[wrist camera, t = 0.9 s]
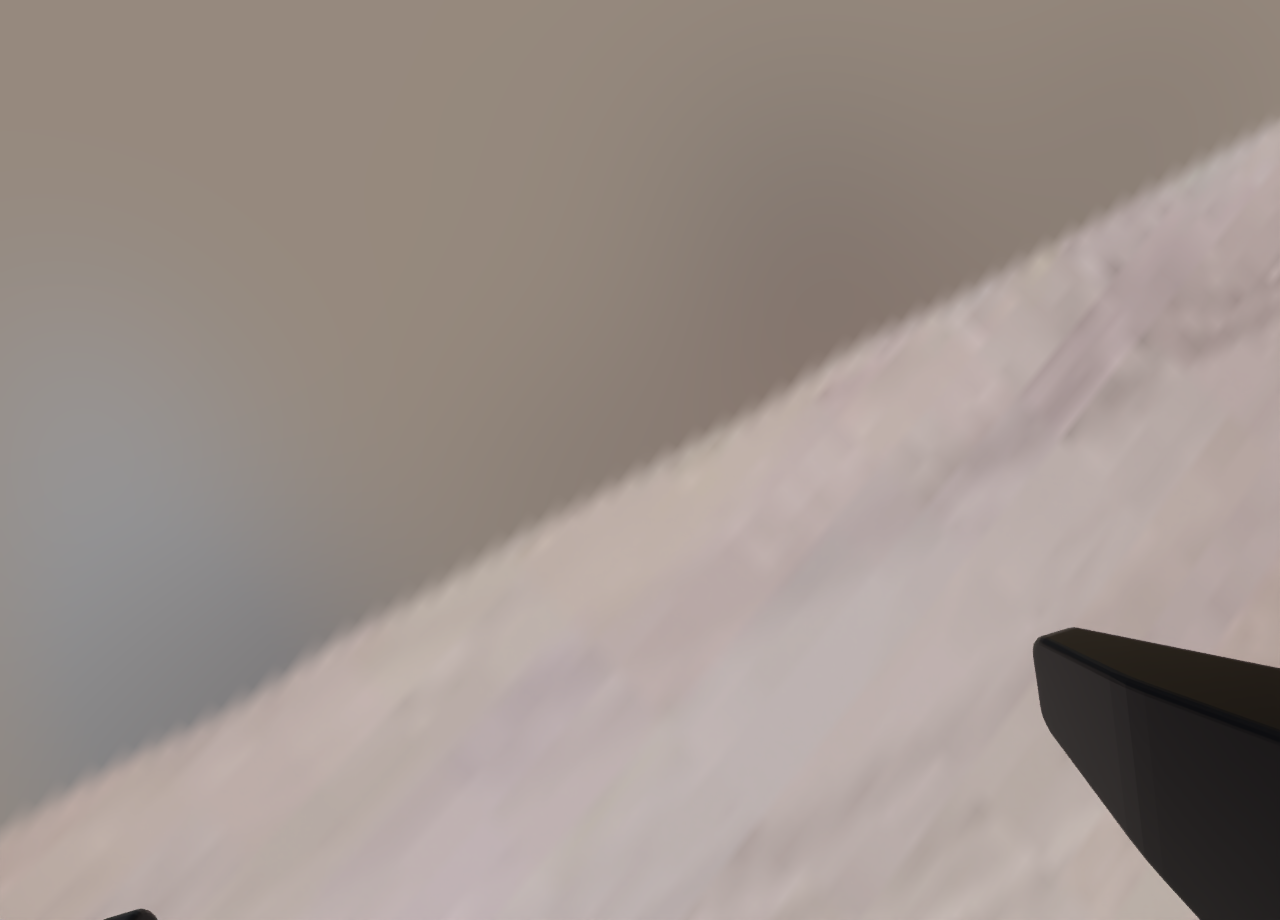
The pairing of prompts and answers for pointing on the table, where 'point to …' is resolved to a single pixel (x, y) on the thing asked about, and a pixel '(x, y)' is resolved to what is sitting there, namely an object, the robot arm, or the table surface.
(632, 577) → the table surface
